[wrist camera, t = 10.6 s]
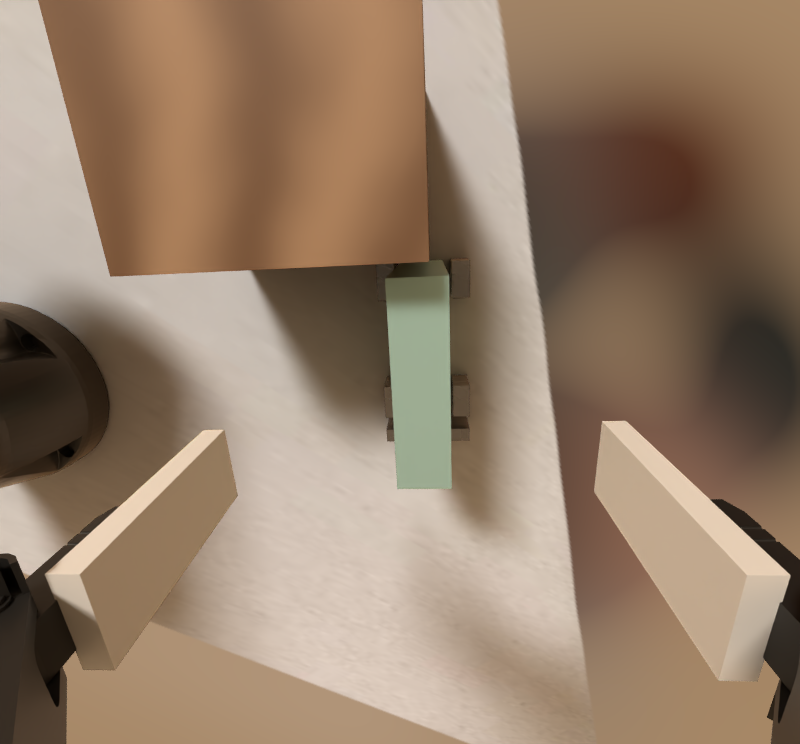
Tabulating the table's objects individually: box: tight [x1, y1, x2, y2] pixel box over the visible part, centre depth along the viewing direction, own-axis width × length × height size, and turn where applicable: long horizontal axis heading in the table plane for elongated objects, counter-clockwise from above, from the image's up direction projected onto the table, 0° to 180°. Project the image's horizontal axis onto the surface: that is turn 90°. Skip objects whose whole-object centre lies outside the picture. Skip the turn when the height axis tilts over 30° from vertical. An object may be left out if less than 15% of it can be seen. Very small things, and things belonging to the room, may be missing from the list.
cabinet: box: [38, 0, 430, 277], centre depth 23 cm, size 14×10×14 cm
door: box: [385, 260, 452, 489], centre depth 27 cm, size 3×12×12 cm, turn 3°
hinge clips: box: [376, 258, 470, 441], centre depth 32 cm, size 6×14×2 cm, turn 3°
